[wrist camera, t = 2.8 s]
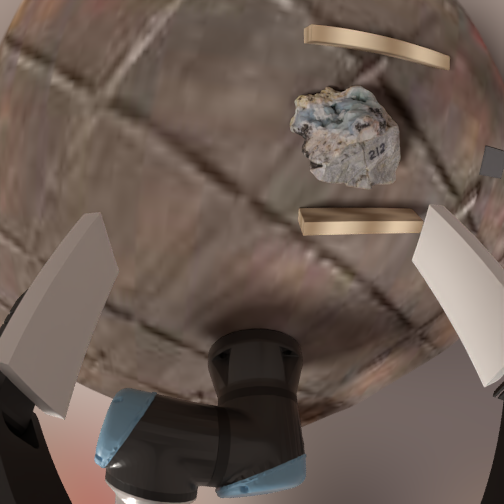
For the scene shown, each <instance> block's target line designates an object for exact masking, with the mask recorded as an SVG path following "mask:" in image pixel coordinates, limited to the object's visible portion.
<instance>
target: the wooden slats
mask: <svg viewBox="0 0 504 504" xmlns="http://www.w3.org/2000/svg"><path fill="white" fill-rule="evenodd" d="M304 44H316V45H326V46H334V47H342V48H349V49H355V50H361V51H367V52H372V53H377V54H382V55H386V56H391V57H395V58H399V59H403V60H407V61H411V62H415V63H418V64H422V65H425V66H428V67H432V68H438V69H444V70H449V67H450V57H449V56H447V55H444V54H441V53H439V52H436V51H433V50H430V49H427V48H424V47H421V46H418V45H414V44H411V43H408V42H404V41H400V40H397V39H393V38H389V37H385V36H380V35H376V34H371V33H366V32H361V31H356V30H350V29H344V28H338V27H330V26H322V25H313V24H312V25H310V26H308V27H306V28H305V29H304ZM298 221H299V224H300V227H301V230H302V233H303V235H335V234H376V233H420V231H421V228H422V225H423V220H422V219H421V218H420V217H419V216H418V215H417V214H416V213H415V212H414V211H413V210H412V209H408V208H299V216H298Z"/></svg>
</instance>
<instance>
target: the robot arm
mask: <svg viewBox="0 0 504 504" xmlns="http://www.w3.org/2000/svg"><path fill="white" fill-rule="evenodd" d="M412 261H413V263H414V264H415V266H416V267H417V269H418V270H419V272H420V273H421V275H422V276H423V278H424V279H425V281H426V282H427V284H428V285H429V287H430V289H431V290H432V292H433V293H434V295H435V296H436V298H437V300H438V301H439V303H440V305H441V306H442V308H443V310H444V311H445V313H446V315H447V316H448V318H449V320H450V322H451V323H452V325H453V327H454V329H455V330H456V332H457V334H458V336H459V338H460V340H461V341H462V343H463V345H464V347H465V349H466V351H467V353H468V355H469V357H470V359H471V361H472V363H473V365H474V367H475V369H476V371H477V373H478V375H479V377H480V379H481V382H482V384H483V386H484V387H486V386H488V385H490V384H492V383H494V382H496V381H498V380H499V379H500V378H501V377H502V376H503V375H504V269H503V267H502V266H501V265H500V264H499V263H498V262H497V260H496V259H495V258H494V257H493V256H492V255H491V254H490V252H489V251H488V250H487V249H486V248H485V247H484V246H483V245H482V244H481V243H480V242H479V241H478V239H477V238H476V237H475V236H474V235H473V234H472V233H471V232H470V231H469V230H468V229H467V228H466V227H465V226H464V225H463V224H462V223H461V222H460V221H459V220H458V219H457V218H456V217H455V216H454V215H453V214H452V213H451V212H449V211H448V210H447V209H446V208H445V207H444V206H443V205H429V207H428V211H427V215H426V218H425V221H424V225H423V228H422V231H421V235H420V238H419V241H418V244H417V247H416V250H415V253H414V256H413V259H412ZM118 273H119V269H118V266H117V263H116V260H115V257H114V254H113V251H112V248H111V245H110V242H109V238H108V235H107V232H106V228H105V225H104V222H103V218H102V214H101V212H97V213H87V214H84V215H83V216H82V217H81V218H80V219H79V221H78V222H77V223H76V224H75V225H74V227H73V228H72V229H71V230H70V232H69V233H68V234H67V236H66V237H65V238H64V239H63V241H62V242H61V243H60V245H59V246H58V247H57V249H56V250H55V251H54V253H53V254H52V255H51V257H50V258H49V260H48V261H47V262H46V264H45V265H44V267H43V268H42V270H41V271H40V272H39V274H38V275H37V277H36V278H35V280H34V281H33V283H32V284H31V286H30V288H29V289H27V290H26V291H25V292H24V293H23V294H22V295H21V296H20V297H19V298H18V299H17V301H16V302H15V304H14V306H13V307H12V309H11V311H10V314H8V316H7V317H6V319H5V321H4V324H2V326H1V328H0V504H72V503H71V501H70V499H69V496H68V494H67V493H66V490H65V488H64V486H63V484H62V482H61V480H60V477H59V475H58V473H57V470H56V468H55V465H54V463H53V460H52V458H51V455H50V453H49V450H48V447H47V444H46V441H45V439H44V436H43V433H42V430H41V426H40V423H39V420H38V418H37V416H36V414H35V413H34V412H33V409H34V406H35V405H36V406H37V407H38V408H39V409H41V410H42V411H43V412H44V413H45V414H48V415H51V416H54V417H58V418H61V419H65V417H66V414H67V410H68V406H69V403H70V399H71V396H72V393H73V390H74V386H75V383H76V380H77V377H78V374H79V371H80V368H81V365H82V362H83V359H84V356H85V354H86V351H87V348H88V345H89V343H90V340H91V337H92V335H93V332H94V329H95V327H96V324H97V322H98V319H99V317H100V314H101V312H102V309H103V307H104V305H105V302H106V300H107V298H108V295H109V293H110V291H111V288H112V286H113V284H114V282H115V279H116V277H117V275H118ZM301 369H302V354H301V349H300V346H299V344H298V343H297V342H296V341H295V340H294V339H293V338H291V337H290V336H288V335H286V334H283V333H281V332H277V331H272V330H264V329H253V330H244V331H239V332H235V333H232V334H229V335H226V336H224V337H222V338H221V339H219V340H218V341H216V342H215V343H214V344H213V345H212V347H211V348H210V350H209V355H208V370H209V373H210V376H211V379H212V382H213V385H214V388H215V391H216V394H217V397H218V406H213V405H208V404H202V403H197V402H192V401H187V400H182V399H177V398H172V397H168V396H164V395H159V394H157V393H156V392H152V393H150V392H145V391H141V390H136V389H132V388H125V389H122V390H120V391H119V392H118V393H117V394H116V395H115V397H114V398H113V400H112V402H111V405H110V407H109V409H108V412H107V414H106V417H105V420H104V423H103V425H102V428H101V432H100V435H99V439H98V442H97V447H96V454H95V462H96V464H98V465H99V466H100V467H102V468H106V476H105V481H106V483H107V484H108V485H109V486H110V488H111V489H112V490H113V491H114V492H115V494H116V499H115V504H190V503H192V502H194V501H195V500H196V497H197V489H198V486H209V487H216V489H215V491H216V493H217V495H218V496H219V497H220V498H234V497H247V496H255V495H262V494H268V493H273V492H278V491H283V490H287V489H290V488H294V487H296V486H298V485H300V484H301V483H302V482H303V481H304V480H305V477H306V454H305V451H304V444H303V437H302V430H301V423H300V416H299V409H298V403H297V395H296V393H297V388H298V384H299V379H300V374H301ZM503 389H504V382H503V383H502V384H501V385H500V386H499V387H498V388H497V389H496V390H495V391H494V394H493V397H496V396H497V395H498V394H499V393H500V392H501V391H502V390H503ZM498 399H501V400H504V391H503V392H502V393H501V394H500V396H499V397H498ZM481 504H504V402H503V411H502V418H501V425H500V431H499V437H498V442H497V447H496V451H495V456H494V460H493V464H492V469H491V472H490V476H489V479H488V483H487V486H486V489H485V492H484V495H483V499H482V501H481Z"/></svg>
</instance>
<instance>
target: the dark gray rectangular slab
mask: <svg viewBox="0 0 504 504" xmlns="http://www.w3.org/2000/svg"><path fill="white" fill-rule="evenodd" d="M503 169H504V151H502V150H499V149H495V148H492V147H488V146H486V147H485V152H484V157H483V161H482V166H481V170H480V175H485V176H490V177H495V178H500V179H501V177H502V173H503Z"/></svg>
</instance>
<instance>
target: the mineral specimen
mask: <svg viewBox="0 0 504 504" xmlns="http://www.w3.org/2000/svg"><path fill="white" fill-rule="evenodd" d="M294 102H295V105H296V114H295V115H294V116H293V118H292V119H291V122H290V130H291V131H292V132H293V133H297V134H299V135H301V136H302V137H303V138H304V139H305V141H304V144H303V146H302V152H303V154H304V155H305V157H307V158H309V159H310V161H311V163H310V168H311V169H310V171H311V172H312V173H313V174H314V175H315V177H316V178H317V179H318V180H320V181H323V182H328V183H345V184H346V185H347V186H349V187H356V188H362V189H372V187H371V186H373V185H377V184H380V185H382V184H384V185H386V184H392V183H393V182H394V181H395V180H396V175H395V171H396V168H397V166H398V165H399V161H400V158H401V155H400V139H399V127H398V124H397V123H396V122H395V121H393V120H392V118H391V117H390V116H389V115H388V113H387V112H386V111H385V109H384V107H383V106H381V105H380V104H379V103H378V101H377V100H376V98H375V96H374V95H373V93H372V92H370V91H369V90H366V89H365V88H363V87H362V86H358V85H356V86H351V87H350V88H348V89H346V90H345V91H342V92H340V91H335V90H333V89H332V88H330V87H326V88H325V90H322V91H321V92H320V93H319V94H318V93H316V94H315V95H311V94H308V95H301V96H299V97H298V98H297V99H296V100H295V101H294Z"/></svg>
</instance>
